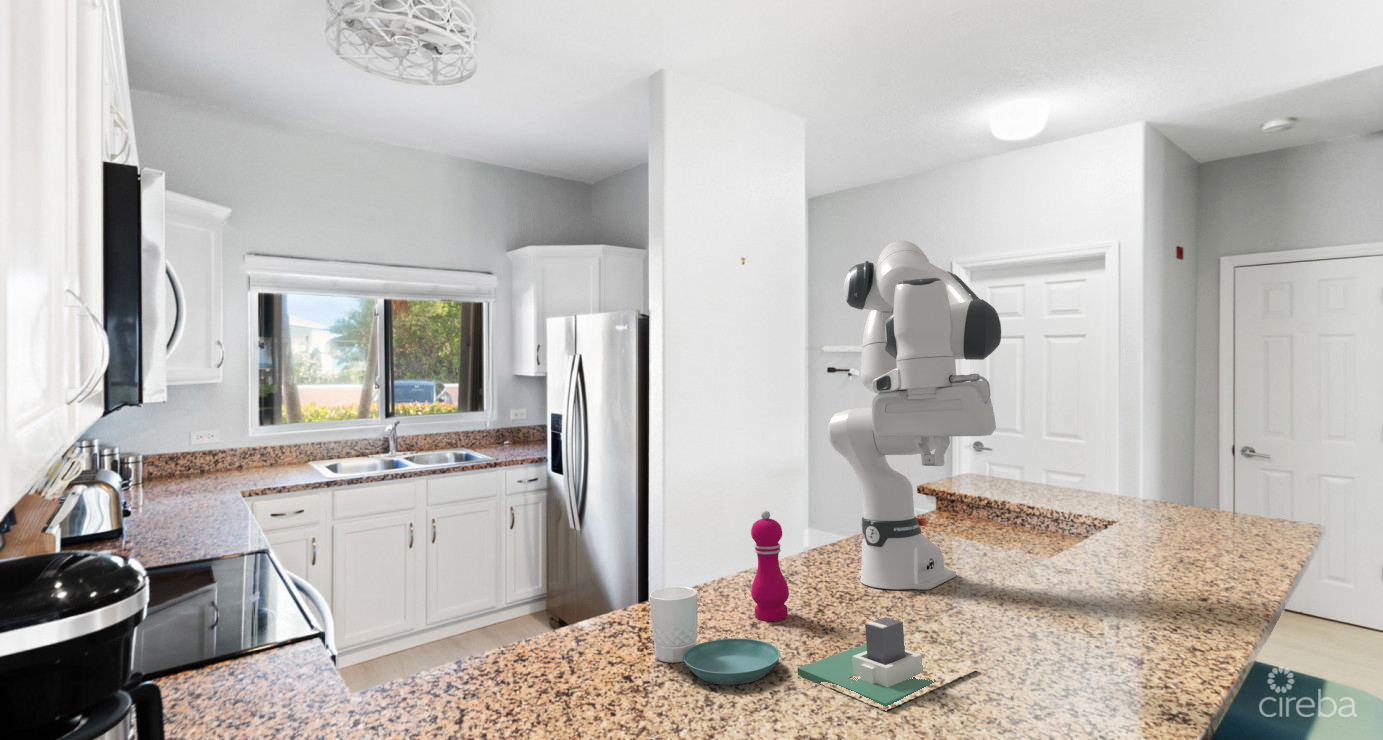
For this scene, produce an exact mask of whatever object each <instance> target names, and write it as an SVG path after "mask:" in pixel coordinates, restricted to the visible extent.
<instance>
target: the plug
mask: <svg viewBox="0 0 1383 740" xmlns="http://www.w3.org/2000/svg"><path fill="white" fill-rule="evenodd" d="M864 624H865V625H864V631H865V641H866V643H865V644H866V645H867V659H869V660H872V661H875V662H878V663H881V664H884V665H887V664H890V663H893V662H895V661H898V660H900V659H903V658H905V646H904V642H905V635H904V623H903V621H902V620H898V619H893V618H890V617H886V616H885V617H882V618H878V619H876V620H873V621H872V620H870V621H866V622H865V623H864Z"/></svg>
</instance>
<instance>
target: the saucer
mask: <svg viewBox="0 0 1383 740" xmlns="http://www.w3.org/2000/svg"><path fill="white" fill-rule="evenodd" d="M780 652H781V651H780V650H779V648H777V647H776V646H775V645H774V644H771V643H770V642H766V641H763V640H759V639H753V638H752V639H751V638H740V637H739V638H737V637H735V638H734V637H733V638H732V637H731V638H721V639H713V640H708V641H705V642H701V643H697V645H696V646H693V647H692V648H690V649H688V650H687V651H686V652H685V653H684V656H683V659H684V663H685V665H686V666H687V667H688V669H689V670H690V671H691V672H692V673H693V674H694V675H696V677H698V678H700V679H701V680H703V681H705V682H707V683H711V684H717V685H723V686H724V685H725V686H726V685H727V686H734V685H744V684H748V683H752V682H756V681H758V680H760V679H763V678H764V677H766V675H768V674H769V673H770V672H771V671H772V670H773V668H774V667H775V666H776V665H777V663H778V661H779V659H780V657H781V653H780Z"/></svg>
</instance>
